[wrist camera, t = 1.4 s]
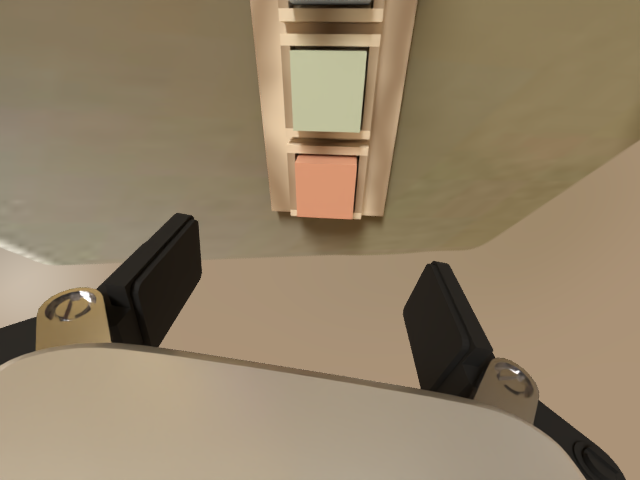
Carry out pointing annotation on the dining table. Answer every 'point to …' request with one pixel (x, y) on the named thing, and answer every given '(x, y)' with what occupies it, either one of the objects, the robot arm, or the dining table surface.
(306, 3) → the slate button
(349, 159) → the terracotta button
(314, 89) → the sage button
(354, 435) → the robot arm
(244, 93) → the dining table surface
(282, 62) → the button panel
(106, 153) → the dining table surface
